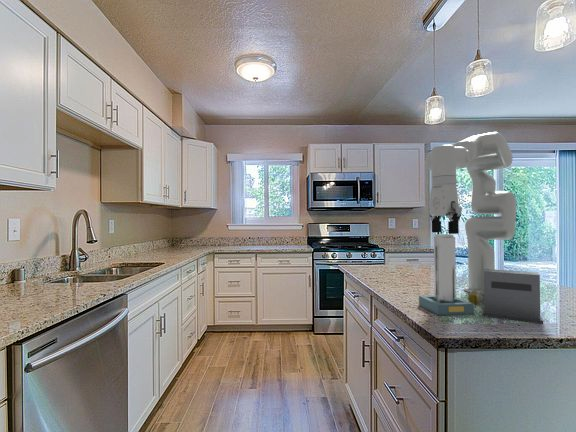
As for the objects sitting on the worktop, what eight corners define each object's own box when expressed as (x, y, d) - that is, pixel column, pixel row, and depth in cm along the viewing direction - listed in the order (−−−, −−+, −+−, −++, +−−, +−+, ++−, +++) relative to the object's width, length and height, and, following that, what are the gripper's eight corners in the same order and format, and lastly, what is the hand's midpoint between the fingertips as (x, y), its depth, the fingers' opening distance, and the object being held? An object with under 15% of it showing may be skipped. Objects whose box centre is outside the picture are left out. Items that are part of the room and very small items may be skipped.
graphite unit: (482, 310, 106) (481, 268, 106) (539, 316, 98) (538, 271, 99) (482, 316, 99) (481, 271, 100) (543, 324, 92) (542, 275, 92)
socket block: (451, 304, 113) (451, 294, 113) (474, 314, 101) (474, 303, 101) (419, 305, 112) (418, 295, 112) (438, 316, 100) (438, 305, 100)
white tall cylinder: (458, 311, 103) (457, 234, 103) (437, 310, 104) (436, 234, 104) (452, 306, 109) (451, 233, 109) (432, 305, 110) (431, 233, 111)
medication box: (474, 298, 123) (474, 288, 123) (483, 299, 121) (482, 288, 121) (469, 305, 113) (468, 293, 114) (477, 306, 112) (477, 294, 112)
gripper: (420, 185, 115) (421, 232, 115) (448, 179, 98) (449, 234, 98) (439, 184, 116) (440, 231, 116) (471, 179, 99) (472, 234, 99)
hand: (444, 232), depth 107 cm, fingers open, 9 cm apart
